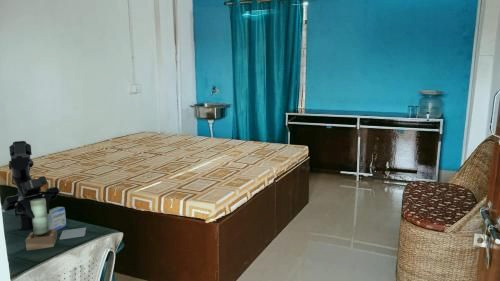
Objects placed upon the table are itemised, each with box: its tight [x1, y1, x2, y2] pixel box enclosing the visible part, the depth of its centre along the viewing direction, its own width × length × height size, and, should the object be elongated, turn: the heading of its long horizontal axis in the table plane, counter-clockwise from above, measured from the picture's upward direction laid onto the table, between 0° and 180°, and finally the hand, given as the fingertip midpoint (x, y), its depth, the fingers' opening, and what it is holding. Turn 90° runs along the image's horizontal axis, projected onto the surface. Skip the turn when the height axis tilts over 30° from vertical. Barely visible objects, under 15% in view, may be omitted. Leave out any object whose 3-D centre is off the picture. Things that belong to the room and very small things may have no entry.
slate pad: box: [59, 227, 87, 240], centre depth 149 cm, size 9×9×1 cm
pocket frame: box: [24, 229, 58, 251], centre depth 139 cm, size 9×9×4 cm
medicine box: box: [47, 206, 67, 232], centre depth 156 cm, size 8×4×9 cm, turn 168°
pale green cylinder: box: [30, 198, 49, 234], centre depth 138 cm, size 5×5×12 cm
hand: (41, 215), depth 137 cm, fingers closed on pale green cylinder, 5 cm apart
